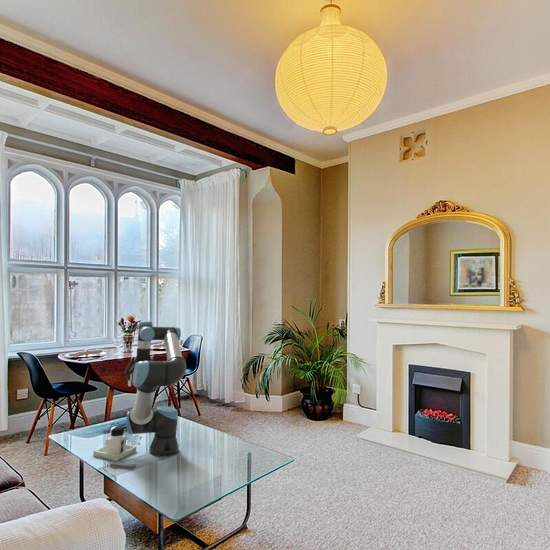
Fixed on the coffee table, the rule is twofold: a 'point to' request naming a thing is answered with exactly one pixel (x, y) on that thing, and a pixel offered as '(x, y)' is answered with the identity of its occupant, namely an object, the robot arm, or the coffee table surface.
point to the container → (116, 441)
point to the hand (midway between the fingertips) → (140, 384)
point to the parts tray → (102, 454)
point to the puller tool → (123, 465)
